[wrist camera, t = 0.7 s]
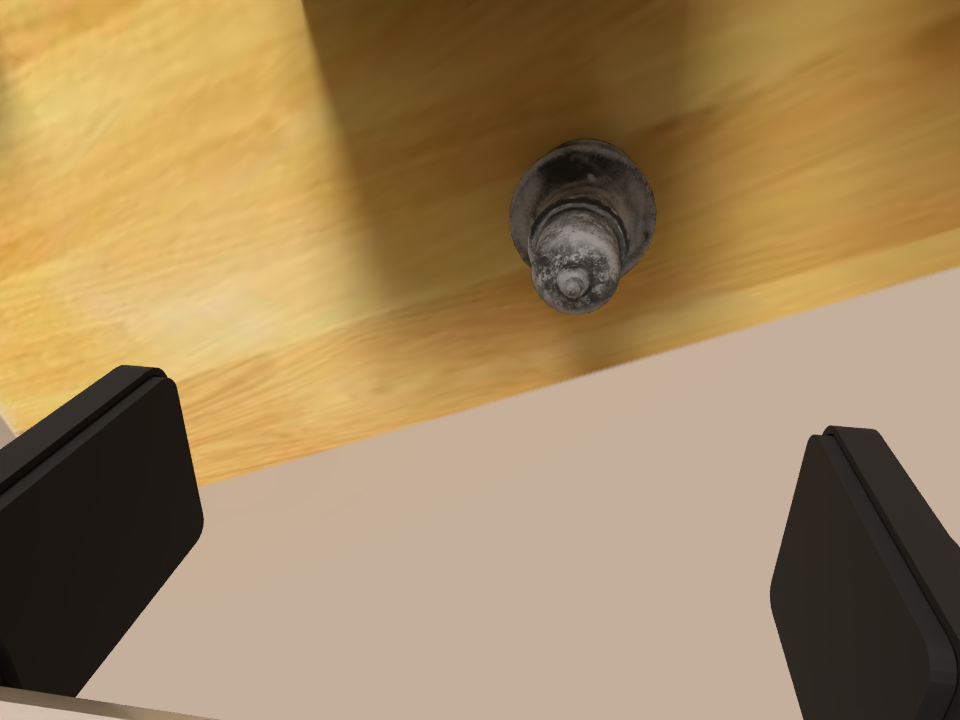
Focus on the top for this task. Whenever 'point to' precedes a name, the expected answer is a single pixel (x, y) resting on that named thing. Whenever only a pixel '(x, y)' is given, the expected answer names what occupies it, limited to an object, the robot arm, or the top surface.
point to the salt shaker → (581, 223)
